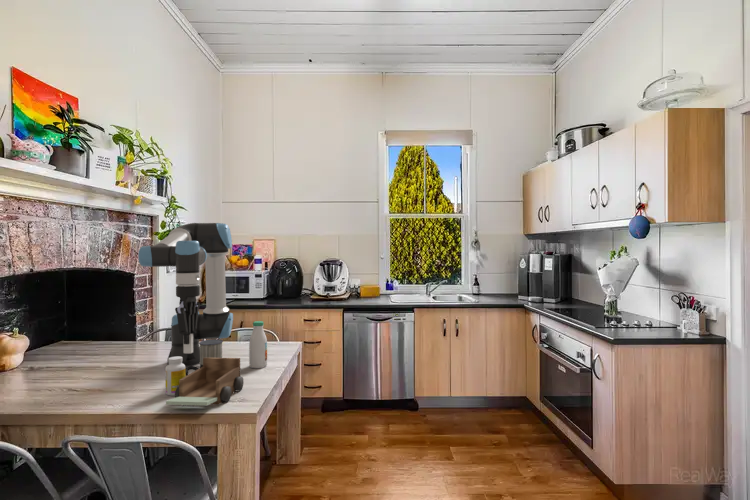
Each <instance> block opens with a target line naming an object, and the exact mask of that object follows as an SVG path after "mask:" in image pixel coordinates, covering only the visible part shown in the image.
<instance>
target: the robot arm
mask: <svg viewBox="0 0 750 500" xmlns="http://www.w3.org/2000/svg"><path fill="white" fill-rule="evenodd" d="M232 242H233V239H232V234H231V228H230V227H229V225H228V224H226V223H222V222H192V223H186V224H183V225H180V226H177V227H176V228H174V229H172V230H170V232H169V234H168V235H167V236H166V237H164V238H163V239H162V240H160V241H158V242H157V243H156V244H154V245H144V246H141V247H140V248H139V249H138V256H137V258H138V263H139V264H140V266H141V267H149V268H155V267H156V268H159V267H162V268H163V267H166V268H167V267H175V284H176V287H175V296H176V297H177V298H179V302H178V303H179V306H178V307H175V309H174V310H175V313H176V314H174V315H173V316H172V317H171V324H170V327H171V331H170V332H171V333H170V334H171V338H170V339H171V346H170V347H171V348H170V351H169V354H168V356H167V358H166V359H167V361H166V364H167V365H166V366H168V365H169V362H168V359H169V358H170V357H176V356H180V357H182V358H183V360H182V363H183V364H184V365H185V367H189V366H196V365H198V364H199V365H200V344H199V342H200V340H211V339H219V340H221V339H227V338H229V337H230V335H231V333H232V329H233V323H234V313H232V312H230V308H229V307H228V306H227V292H226V291H227V290H226V286H227V285H226V256H227V255H228V253H229V250H230V249H232V247H233V243H232ZM204 263H205V294H206V295H205V298H206V301H205V302H206V303H205V304H206V306H205V308H204V309H203V310H202V313H200V312H199V311H200V306H201V303H200V302H197V297H199V296H200V294H201V287H200V285H199V284H200V278H201V275H200V266H202V265H203V264H204Z"/></svg>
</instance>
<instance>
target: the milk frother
mask: <svg viewBox="0 0 750 500" xmlns="http://www.w3.org/2000/svg"><path fill="white" fill-rule="evenodd" d="M223 342H224V340H222V339H203V340H201V341H199V346H200V363H199V367H197V366H196V365H191V366H185V375H186V376H187V375H189V371H190V370H194V371H196V370H197V369H199V368H201V367H203V358H223Z"/></svg>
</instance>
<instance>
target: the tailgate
mask: <svg viewBox="0 0 750 500" xmlns="http://www.w3.org/2000/svg"><path fill="white" fill-rule="evenodd" d="M215 401H217V398H215V397H176V398H175V397H174V398H171V399H168V400H166V401H165V405H166V406H167V405H169V406H171V405H172V406H173V405H174V406H182V407H195V406H209V405H212V404H211V403H213V402H215Z"/></svg>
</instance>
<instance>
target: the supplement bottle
mask: <svg viewBox="0 0 750 500" xmlns="http://www.w3.org/2000/svg"><path fill="white" fill-rule="evenodd" d="M167 359H168V358H167ZM182 360H183V358H182V357H180V356H176V357H170V358H169V359H168V362H169V365H166V367H165V369H164V370H165V373H164V374H165V379H164V380H165V395H167V396H171V397H172V396H174V397H175V391H176V389H177V387H178V386H179V380H180V379H182V378H184V377H185V376H186V375H185V368H186V366H185V365H184V364H183V363H182Z"/></svg>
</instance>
